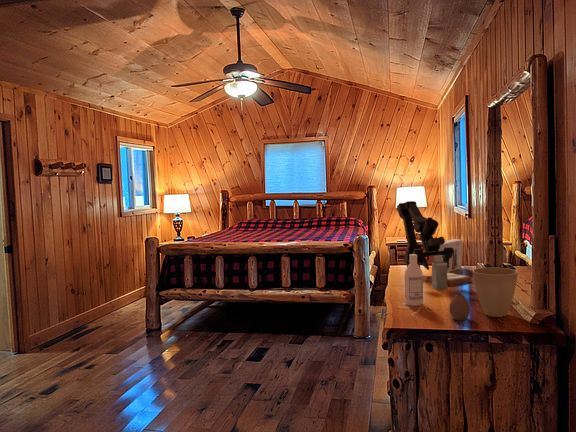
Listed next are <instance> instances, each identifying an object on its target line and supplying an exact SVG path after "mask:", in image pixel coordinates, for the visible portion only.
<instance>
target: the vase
mask: <svg viewBox="0 0 576 432" xmlns="http://www.w3.org/2000/svg"><path fill="white" fill-rule="evenodd" d="M470 305H471V304H470V302H469V301H468V299H466V298H465V296H464V293H463V294H462V293H456V294H455V296H454V297H453V299H452V300H451V301H450V304H449V313H450V316H451V317H452V319H454V320H455V321H466V320H467V319H468V318H469V317H470V314H471V306H470Z"/></svg>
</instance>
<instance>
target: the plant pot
mask: <svg viewBox="0 0 576 432" xmlns="http://www.w3.org/2000/svg"><path fill="white" fill-rule="evenodd" d="M518 274H519V272H518V270H516V269H513V268H507V267H479V268H474V269H473V270H472V275H473V280H474V286H475V289H476V294H477V297H478V300H479V303H480V306H481V308H482V310H483V313H484V315H485V316H487V315H488V316H487V317H492V318H504V317H506V315H507V316H508V313H509V311H510V308H511V305H512V303H513V300H514V295H515V292H516V291H515V290H516V288H517V287H516V286H517V281H518ZM503 316H504V317H503Z"/></svg>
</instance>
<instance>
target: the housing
mask: <svg viewBox="0 0 576 432" xmlns="http://www.w3.org/2000/svg"><path fill="white" fill-rule="evenodd" d="M447 273H448V272H447V263H446V262H444V261H434V260H433V261H431V276H432V282H431V287H432V289H434V290H435V291H444V290H445V291H446V290H448V286H447Z"/></svg>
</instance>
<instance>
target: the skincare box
mask: <svg viewBox="0 0 576 432" xmlns="http://www.w3.org/2000/svg"><path fill="white" fill-rule="evenodd" d="M447 247H452V248H453V249H454V251H455V252H454V254H453V256H452V258H450V259H449V268H448V269H447V273H451V272H453V271H457V270H459V269H462V267H463V265H462V264H463V263H462V262H463V260H462V259H463V239H458V238H452V239H448V240H445V243H444V244H442V245H440V249H438V251H443V250H444V248H447ZM434 261H443V258H442V256H433V262H434Z"/></svg>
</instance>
